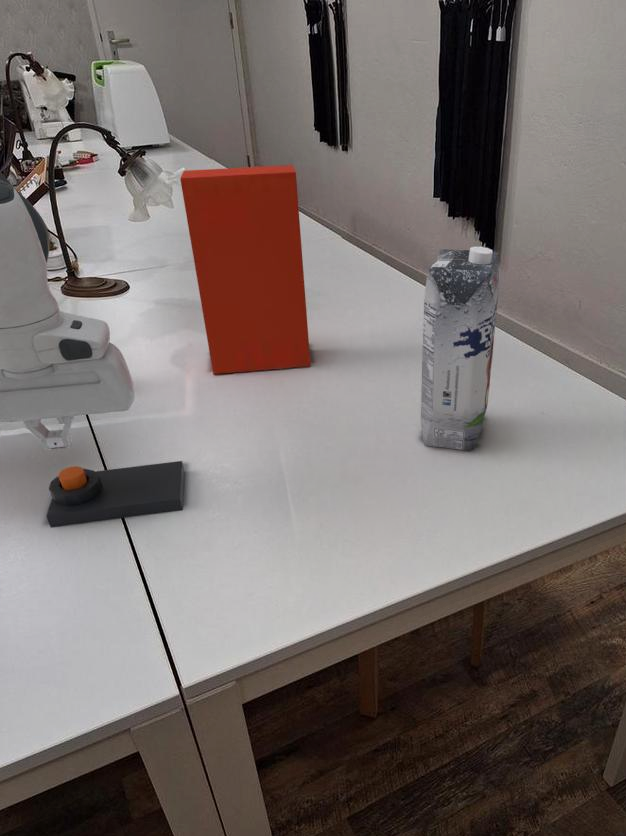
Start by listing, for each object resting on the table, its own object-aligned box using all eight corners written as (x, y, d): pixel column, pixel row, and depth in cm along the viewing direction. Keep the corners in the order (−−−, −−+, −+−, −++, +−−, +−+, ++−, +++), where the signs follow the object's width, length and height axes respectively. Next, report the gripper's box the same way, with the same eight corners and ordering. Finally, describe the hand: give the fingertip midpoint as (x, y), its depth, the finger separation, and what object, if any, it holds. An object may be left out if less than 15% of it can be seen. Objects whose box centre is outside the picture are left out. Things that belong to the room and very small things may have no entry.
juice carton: (416, 449, 93) (421, 258, 78) (430, 414, 102) (437, 235, 86) (478, 457, 91) (496, 262, 76) (487, 420, 100) (505, 238, 84)
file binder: (214, 357, 122) (183, 169, 103) (307, 349, 124) (292, 164, 105) (213, 375, 115) (180, 178, 97) (310, 367, 117) (295, 172, 99)
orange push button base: (50, 528, 81) (42, 505, 78) (63, 487, 88) (55, 465, 86) (182, 510, 83) (177, 488, 81) (184, 472, 90) (179, 450, 88)
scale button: (60, 492, 81) (56, 480, 80) (64, 479, 84) (60, 467, 83) (85, 489, 82) (81, 477, 81) (88, 476, 84) (85, 464, 83)
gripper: (-90, 359, 67) (-41, 470, 75) (115, 342, 70) (141, 450, 78) (-69, 336, 72) (-25, 442, 80) (121, 321, 76) (145, 425, 83)
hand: (58, 446), depth 79 cm, fingers closed
